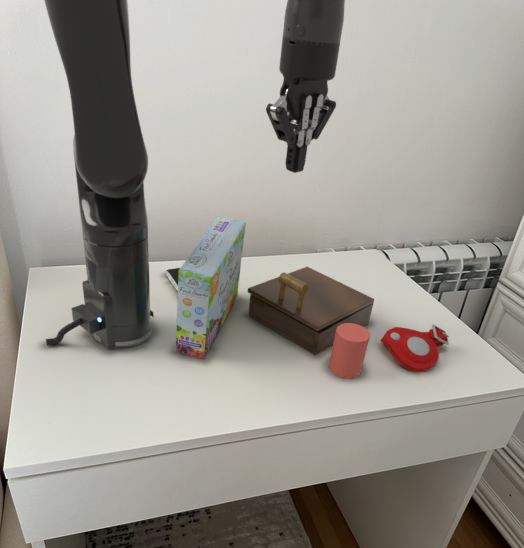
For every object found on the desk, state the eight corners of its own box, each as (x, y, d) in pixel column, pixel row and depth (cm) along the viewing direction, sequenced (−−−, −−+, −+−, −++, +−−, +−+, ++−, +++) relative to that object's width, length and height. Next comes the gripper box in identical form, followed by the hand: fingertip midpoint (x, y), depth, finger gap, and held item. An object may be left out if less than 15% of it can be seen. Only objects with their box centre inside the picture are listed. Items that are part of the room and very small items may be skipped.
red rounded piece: (433, 375, 84) (378, 341, 86) (421, 390, 88) (369, 357, 90) (459, 329, 91) (407, 299, 93) (447, 344, 95) (398, 315, 97)
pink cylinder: (322, 367, 85) (329, 330, 81) (341, 354, 88) (349, 319, 84) (348, 382, 82) (357, 345, 78) (367, 369, 86) (376, 333, 82)
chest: (315, 355, 88) (319, 333, 85) (248, 315, 96) (250, 294, 93) (368, 323, 97) (373, 303, 95) (303, 289, 106) (306, 270, 103)
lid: (317, 331, 84) (323, 301, 81) (247, 292, 92) (250, 263, 89) (373, 302, 95) (381, 275, 92) (306, 270, 103) (311, 243, 100)
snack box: (208, 361, 84) (213, 276, 74) (173, 353, 84) (174, 269, 75) (240, 295, 100) (247, 219, 91) (211, 289, 101) (215, 213, 92)
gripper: (320, 32, 75) (303, 157, 85) (255, 31, 67) (244, 170, 77) (364, 40, 71) (341, 171, 81) (301, 40, 63) (283, 185, 73)
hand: (294, 170), depth 79 cm, fingers closed
